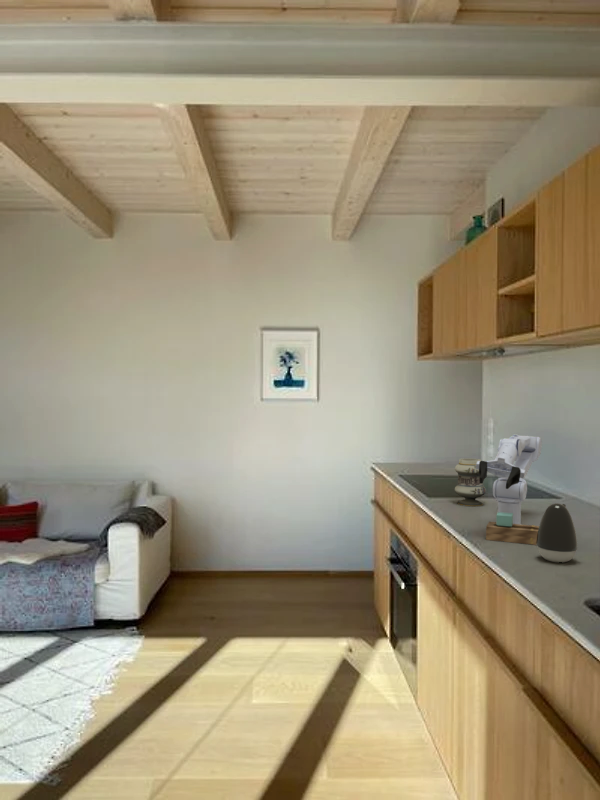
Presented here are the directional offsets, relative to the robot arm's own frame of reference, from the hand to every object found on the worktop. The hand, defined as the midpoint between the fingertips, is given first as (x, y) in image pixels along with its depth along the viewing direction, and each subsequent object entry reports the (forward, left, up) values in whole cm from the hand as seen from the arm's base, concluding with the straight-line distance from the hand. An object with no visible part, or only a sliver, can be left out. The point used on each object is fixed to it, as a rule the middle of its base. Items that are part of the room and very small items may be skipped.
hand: (493, 483), depth 186 cm
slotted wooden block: (-4, +10, -17) cm, 20 cm away
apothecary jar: (-59, -15, -18) cm, 64 cm away
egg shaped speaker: (+15, +18, -18) cm, 29 cm away
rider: (-4, +3, -15) cm, 16 cm away
